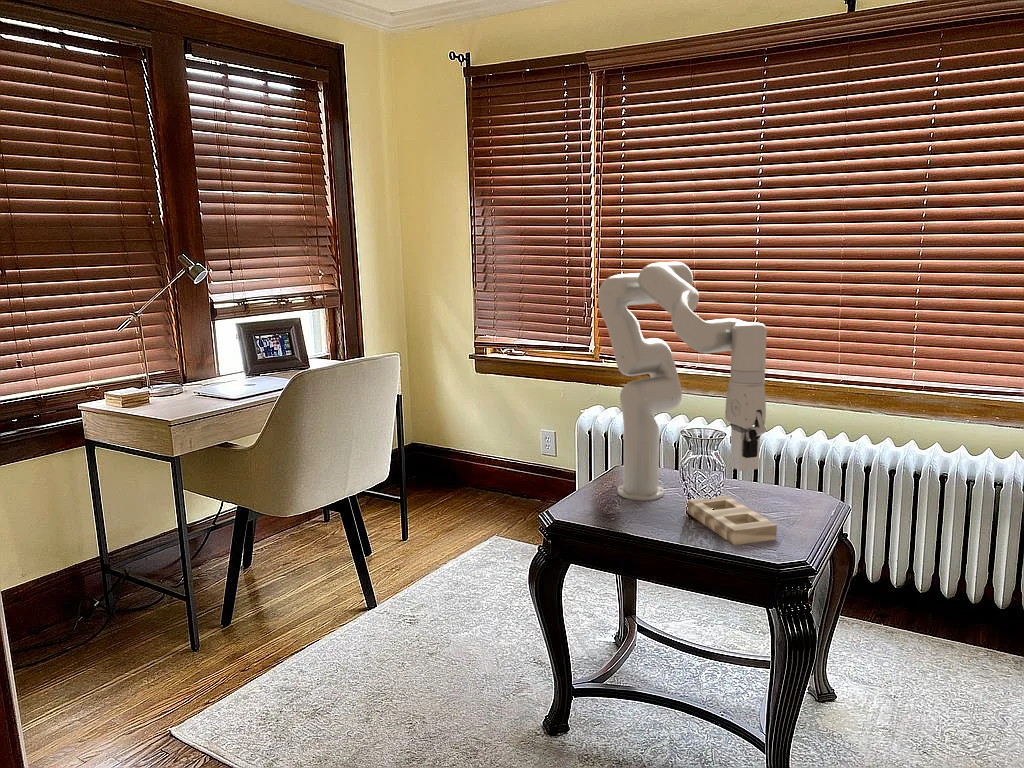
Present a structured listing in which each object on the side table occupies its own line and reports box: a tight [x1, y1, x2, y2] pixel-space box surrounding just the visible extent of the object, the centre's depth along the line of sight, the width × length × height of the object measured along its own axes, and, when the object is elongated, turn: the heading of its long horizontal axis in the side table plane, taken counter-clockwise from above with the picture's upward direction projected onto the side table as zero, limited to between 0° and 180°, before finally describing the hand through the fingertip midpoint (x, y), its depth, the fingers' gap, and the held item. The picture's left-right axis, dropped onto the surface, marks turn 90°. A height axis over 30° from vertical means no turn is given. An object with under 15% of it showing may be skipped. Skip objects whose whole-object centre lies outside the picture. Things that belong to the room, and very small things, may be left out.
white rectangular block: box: [729, 425, 761, 472], centre depth 185 cm, size 4×5×10 cm
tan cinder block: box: [687, 495, 778, 546], centre depth 193 cm, size 22×11×4 cm, turn 16°
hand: (744, 453), depth 186 cm, fingers closed on white rectangular block, 4 cm apart
